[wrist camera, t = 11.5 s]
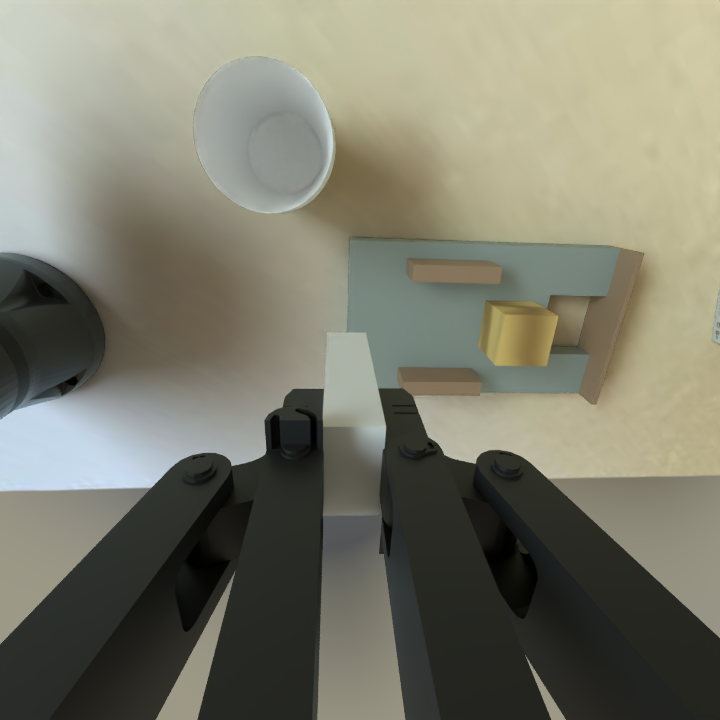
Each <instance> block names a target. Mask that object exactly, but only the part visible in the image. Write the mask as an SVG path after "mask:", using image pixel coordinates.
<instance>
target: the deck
mask: <svg viewBox="0 0 720 720" xmlns="http://www.w3.org/2000/svg"><path fill="white" fill-rule="evenodd" d="M643 256H644V253H642V252H637V251H632V250H627V249H622V248H618V247H613V246H600V245H570V244H540V243H510V242H480V241H450V240H420V239H389V238H359V237H350V244H349V281H348V319H347V332H355V333H366V335H367V340H368V344H369V349H370V354H371V358H372V363H373V368H374V372H375V377H376V381H377V386H378V388H403V389H405V390H406V391H407V392H408V393H409V394H411V395H468V396H480V392H497V393H579V394H580V395H581V396H582V397H584V398H585V399H586V400H587V401H588V402H590V403H591V404H597V401H598V397H599V394H600V391H601V388H602V385H603V382H604V379H605V375H606V372H607V369H608V366H609V363H610V360H611V357H612V353H613V350H614V347H615V344H616V341H617V338H618V334H619V331H620V328H621V325H622V322H623V319H624V316H625V312H626V309H627V306H628V303H629V300H630V297H631V294H632V290H633V287H634V284H635V281H636V278H637V275H638V271H639V268H640V265H641V262H642V259H643ZM550 295H568V296H591V298H590V302H589V306H588V309H587V313H586V316H585V320H584V324H583V327H582V331H581V334H580V338H579V342H578V345H577V347H569V346H551V350H550V354H549V358H548V362H547V366H495V365H494V363H493V362H492V361H491V360H490V359H489V358H488V357H487V356H486V355H485V353H484V352H483V351H482V350H481V349H480V348H479V347H478V343H479V337H480V331H481V325H482V320H483V314H484V308H485V302H486V300H491V301H533V302H535V303H537V304H539V305H540V306H542V307H544V308H546V309H547V307H548V303H549V299H550Z"/></svg>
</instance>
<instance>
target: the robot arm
mask: <svg viewBox="0 0 720 720" xmlns="http://www.w3.org/2000/svg"><path fill="white" fill-rule="evenodd" d="M104 349H105V337H104V331H103V327H102V323H101V320H100V318H99V316H98V313H97V311H96V309H95V308H94V306H93V304H92V303H91V301H90V300H89V299H88V297H87V296H86V295H85V293H84V292H83V291H82V290H81V289H80V288H79V287H78V286H77V285H76V284H75V283H74V282H73V281H72V280H70V279H69V278H68V277H67V276H65V275H64V274H63V273H61V272H60V271H58V270H56V269H55V268H53V267H51V266H49V265H48V264H46V263H43V262H41V261H39V260H36V259H33V258H30V257H27V256H23V255H19V254H13V253H0V419H2V418H3V417H5V416H6V415H7V414H9V413H10V412H12V411H13V410H16V409H20V408H24V407H27V406H31V405H35V404H39V403H42V402H46V401H50V400H53V399H57V398H60V397H62V396H64V395H66V394H68V393H70V392H72V391H74V390H75V389H76V388H78V387H79V386H80V385H82V384H83V383H84V382H86V381H87V380H88V379H89V378H90V377H92V375H93V374H94V373H95V372H96V370H97V369H98V367H99V366H100V363H101V361H102V358H103V355H104ZM265 434H266V449H267V451H266V455H264V456H263V457H261V458H259V459H257V460H255V461H252V462H248V463H245V464H240V465H235V466H231V462H230V460H228V459H227V458H226V457H225V456H223V455H220V454H217V453H201V454H196V455H192V456H189V457H187V458H185V459H182V460H180V461H179V462H178V463H177V464H175V465H174V466H173V467H171V468H170V470H169V471H168V472H167V473H166V474H165V475H164V476H163V477H162V478H161V479H160V480H159V481H158V482H157V483H156V484H155V485H154V486H153V487H152V488H151V489H150V490H149V491H148V492H147V493H146V494H145V495H144V497H142V498H141V500H140V501H139V502H138V503H137V504H136V505H135V506H134V507H133V508H132V509H131V510H130V511H129V512H128V513H127V514H126V515H125V516H124V517H123V518H122V519H121V520H120V521H119V522H118V523H117V524H116V525H115V526H114V527H113V528H112V530H111V531H110V532H109V533H108V534H107V535H106V536H105V537H104V538H103V539H102V540H101V541H100V542H99V543H98V544H97V545H96V546H95V547H94V548H93V549H92V550H91V551H90V552H89V553H88V554H87V556H85V557H84V558H83V559H82V561H81V562H80V563H79V564H78V565H77V566H76V567H75V568H74V569H73V570H72V571H71V572H70V573H69V574H68V575H67V576H66V577H65V578H64V579H63V580H62V581H61V582H60V583H59V584H58V585H57V587H55V588H54V589H53V590H52V592H51V593H50V594H49V595H48V596H47V597H46V598H45V599H44V600H43V601H42V602H41V603H40V604H39V605H38V606H37V607H36V608H35V609H34V610H33V611H32V612H31V613H30V614H29V615H28V617H26V618H25V619H24V620H23V621H22V623H21V624H20V625H19V626H18V627H17V628H16V629H15V630H14V631H13V632H12V633H11V634H10V635H9V636H8V637H7V638H6V639H5V640H4V641H3V642H2V643H1V644H0V720H155V719H156V718H157V716H158V714H159V712H160V711H161V709H162V707H163V705H164V703H165V701H166V699H167V697H168V696H169V694H170V692H171V690H172V688H173V686H174V684H175V682H176V681H177V679H178V677H179V675H180V673H181V671H182V669H183V667H184V666H185V664H186V662H187V660H188V658H189V656H190V654H191V653H192V651H193V648H194V647H195V645H196V643H197V641H198V639H199V638H200V636H201V634H202V632H203V630H204V628H205V626H206V624H207V623H208V621H209V619H210V617H211V615H212V613H213V611H214V610H215V607H216V606H217V604H218V602H219V600H220V598H221V596H222V595H223V592H224V591H225V589H226V587H227V585H228V583H229V581H230V580H231V578H232V576H233V574H234V572H235V570H236V572H235V576H234V579H233V583H232V587H231V591H230V595H229V599H228V603H227V607H226V611H225V615H224V618H223V622H222V626H221V631H220V634H219V638H218V642H217V646H216V650H215V654H214V657H213V661H212V665H211V669H210V674H209V677H208V681H207V685H206V689H205V692H204V696H203V701H202V705H201V708H200V712H199V716H198V720H317V709H318V676H319V645H320V643H319V642H320V613H321V612H320V610H321V609H320V608H321V581H322V549H323V516H358V515H379V514H380V503H381V510H382V525H381V538H380V550H379V554H384V558H385V566H386V574H387V582H388V589H389V596H390V605H391V612H392V619H393V628H394V635H395V643H396V651H397V658H398V666H399V674H400V681H401V689H402V696H403V704H404V712H405V719H406V720H551V718H550V716H549V713H548V711H547V708H546V706H545V703H544V701H543V698H542V696H541V693H540V691H539V688H538V686H537V683H536V681H535V679H534V676H533V674H532V671H531V669H530V666H529V664H528V661H527V659H526V657H527V658H528V660H529V661H530V663H531V664H532V666H533V668H534V669H535V671H536V673H537V674H538V676H539V677H540V679H541V681H542V682H543V684H544V685H545V687H546V688H547V690H548V692H549V693H550V695H551V696H552V698H553V699H554V701H555V703H556V704H557V706H558V708H559V709H560V711H561V712H562V714H563V715H564V717H565V719H566V720H720V638H719V637H718V636H717V635H716V634H715V633H714V632H713V631H711V630H710V629H709V628H708V627H707V626H706V625H705V624H704V623H703V622H702V621H701V620H699V619H698V618H697V617H696V616H695V615H694V614H693V613H692V612H691V611H690V610H689V609H688V608H687V607H685V606H684V605H683V604H682V603H681V602H680V601H679V600H678V599H677V598H676V597H675V596H674V595H673V594H671V593H670V592H669V591H668V590H667V589H666V588H665V587H664V586H663V585H662V584H661V583H660V582H658V581H657V580H656V579H655V578H654V577H653V576H652V575H651V574H650V573H649V572H648V571H647V570H646V569H644V568H643V567H642V566H641V565H640V564H639V563H638V562H637V561H636V560H635V559H634V558H633V557H631V556H630V555H629V554H628V553H627V552H626V551H625V550H624V549H623V548H622V547H620V545H618V544H617V543H616V542H615V541H614V540H613V539H612V538H611V537H610V536H609V535H608V534H607V533H606V532H604V531H603V530H602V529H601V528H600V527H599V526H598V525H597V524H596V523H595V522H594V521H593V520H591V519H590V518H589V517H588V516H587V515H586V514H585V513H584V512H583V511H582V510H581V509H580V508H578V507H577V506H576V505H575V504H574V503H573V502H572V501H571V500H570V499H569V498H568V497H567V496H566V495H564V494H563V493H562V492H561V491H560V490H559V489H558V488H557V487H556V486H555V485H554V484H552V482H550V481H549V480H548V479H547V478H546V477H545V476H544V475H543V474H542V473H541V472H540V471H539V470H537V469H536V468H535V467H534V466H533V465H532V464H531V463H530V462H528V461H527V460H525V459H524V458H523V457H521V456H518V455H516V454H514V453H511V452H507V451H501V450H489V451H487V452H484V453H481V454H480V456H479V457H478V458H477V461H476V464H473V463H468V462H464V461H459V460H455V459H452V458H449V457H447V456H445V455H444V454H443V451H442V449H441V448H440V446H439V445H438V444H437V443H436V442H435V441H433V440H432V439H430V438H428V436H427V433H426V431H425V428H424V425H423V423H422V420H421V417H420V415H419V412H418V409H417V407H416V404H415V401H414V399H413V396H412V395H411V394H409V393H408V392H407V391H406V390H405V389H403V388H378V386H377V381H376V377H375V372H374V368H373V363H372V358H371V354H370V349H369V344H368V340H367V335H366V333H355V332H327V345H326V363H325V381H324V389H293V390H292V391H291V392H290V393H289V394H288V395H287V396H286V397H285V400H284V404H283V408H280V409H277V410H275V411H273V412H272V413H270V414H268V416H267V417H266V419H265ZM525 655H526V656H525Z"/></svg>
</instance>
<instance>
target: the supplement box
mask: <svg viewBox="0 0 720 720" xmlns="http://www.w3.org/2000/svg"><path fill="white" fill-rule="evenodd" d="M712 341H713V342H715V343H718V344H720V290H719V295H718V301H717V308H716V314H715V320H714V327H713V334H712Z"/></svg>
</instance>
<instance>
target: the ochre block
mask: <svg viewBox="0 0 720 720" xmlns="http://www.w3.org/2000/svg"><path fill="white" fill-rule="evenodd" d="M558 318H559V316H558V315H556V314H554V313H553V312H551V311H549V310H547V309H546V308H544V307H542V306H540V305H539V304H537V303H535V302H533V301H491V300H486V302H485V308H484V314H483V320H482V325H481V331H480V337H479V343H478V347H479V348H480V349H481V350H482V351H483V352H484V353H485V355H486V356H487V357H488V358H489V359H490V360H491V361H492V362H493V363H494V365H495V366H547V362H548V358H549V354H550V350H551V346H552V342H553V338H554V334H555V330H556V326H557V322H558Z"/></svg>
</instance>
